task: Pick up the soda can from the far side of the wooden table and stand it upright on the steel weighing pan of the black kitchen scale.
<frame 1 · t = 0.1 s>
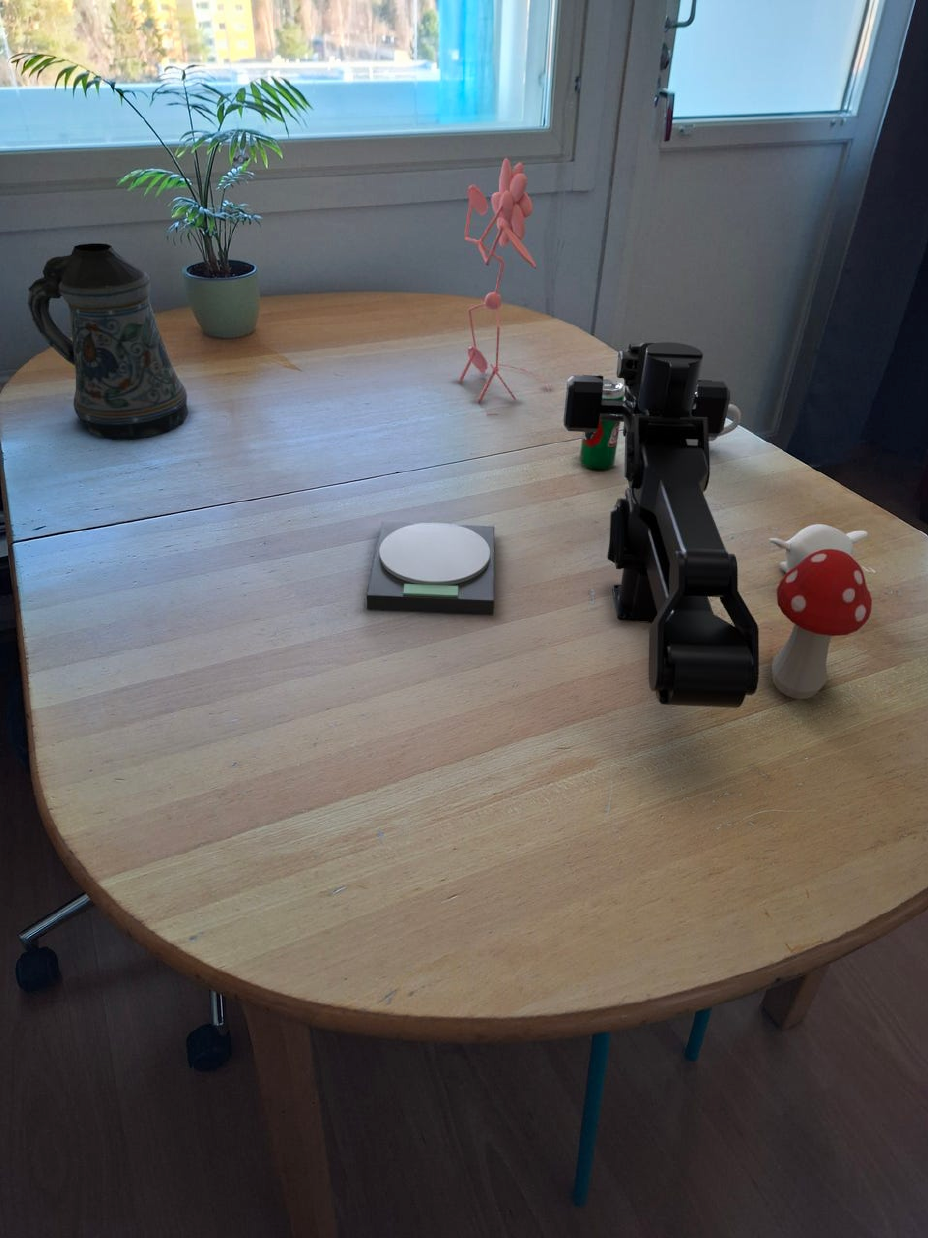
hand: (636, 380, 109), 17 cm above the table, tool horizontal, fingers open, 9 cm apart
beer stein: (125, 420, 135), on the table
teacup: (684, 449, 133), on the table
soda can: (596, 464, 128), on the table
figurine 2: (505, 389, 150), on the table
decorative mushroom: (795, 681, 89), on the table
kitchen scale: (434, 572, 103), on the table
figurine: (806, 590, 103), on the table
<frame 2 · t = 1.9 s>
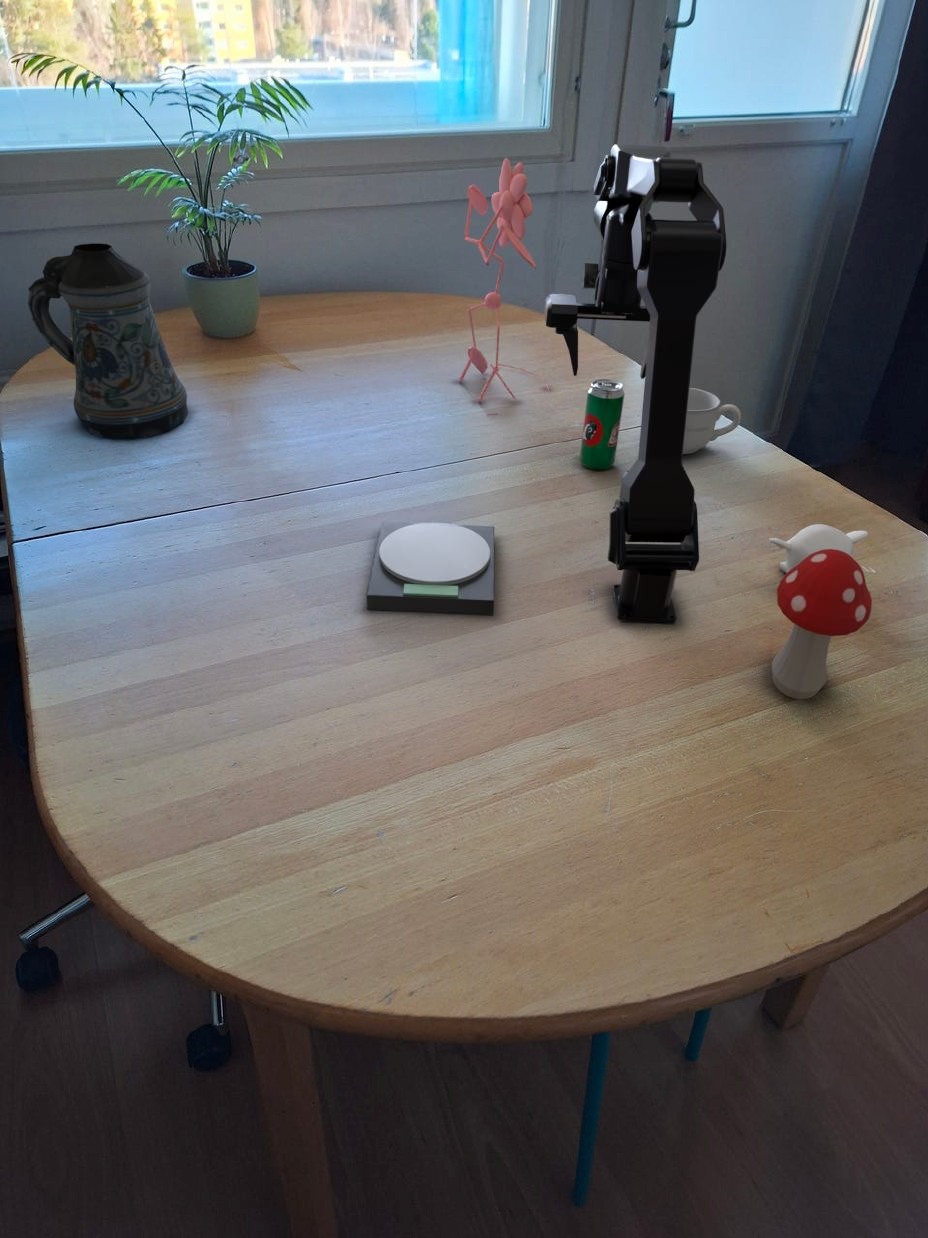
hand: (608, 376, 120), 13 cm above the table, tool pointing down, fingers open, 9 cm apart
nothing on the table moved.
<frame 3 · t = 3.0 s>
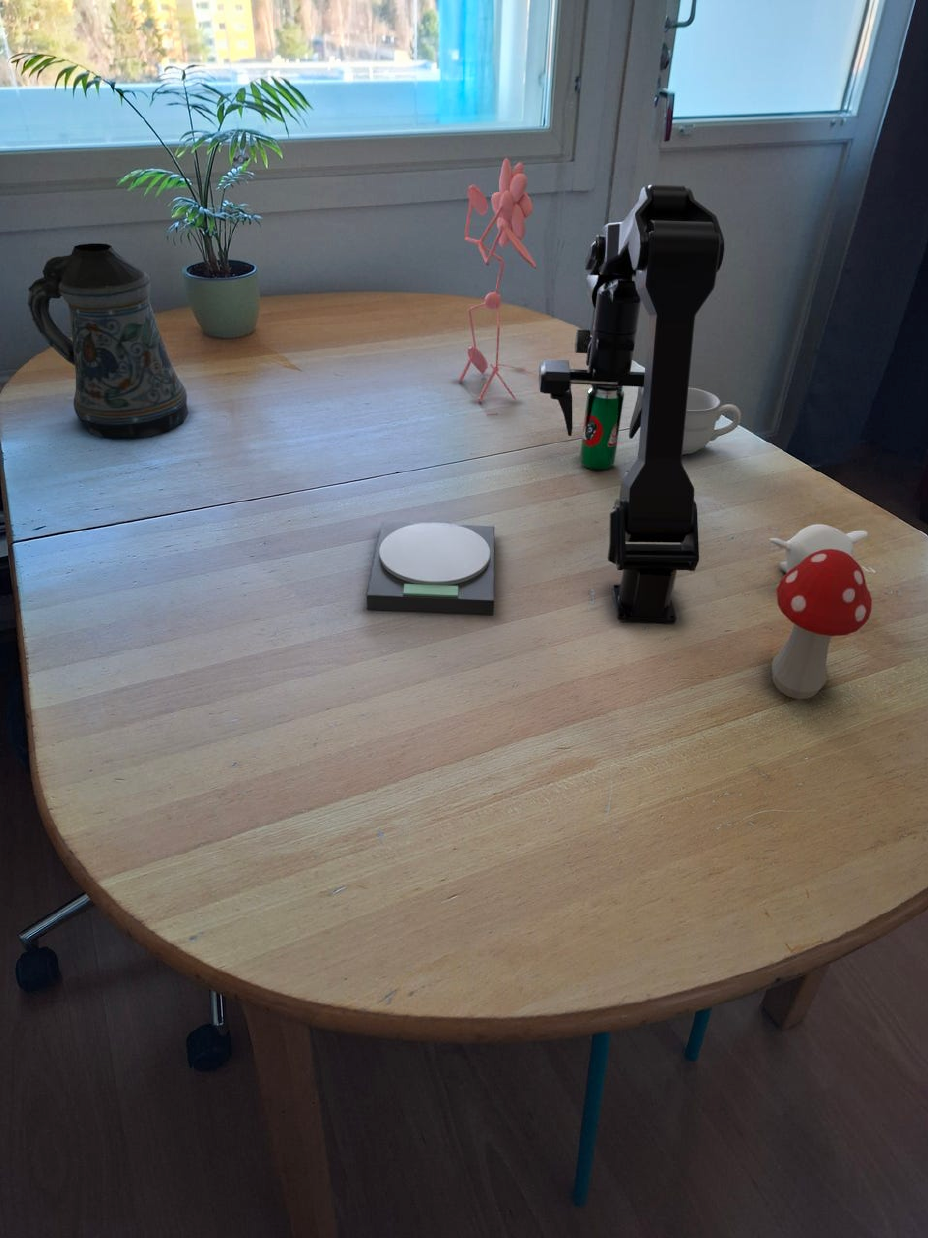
hand: (600, 436, 125), 4 cm above the table, tool pointing down
soda can: (596, 465, 128), on the table, touching gripper
everything else where it was.
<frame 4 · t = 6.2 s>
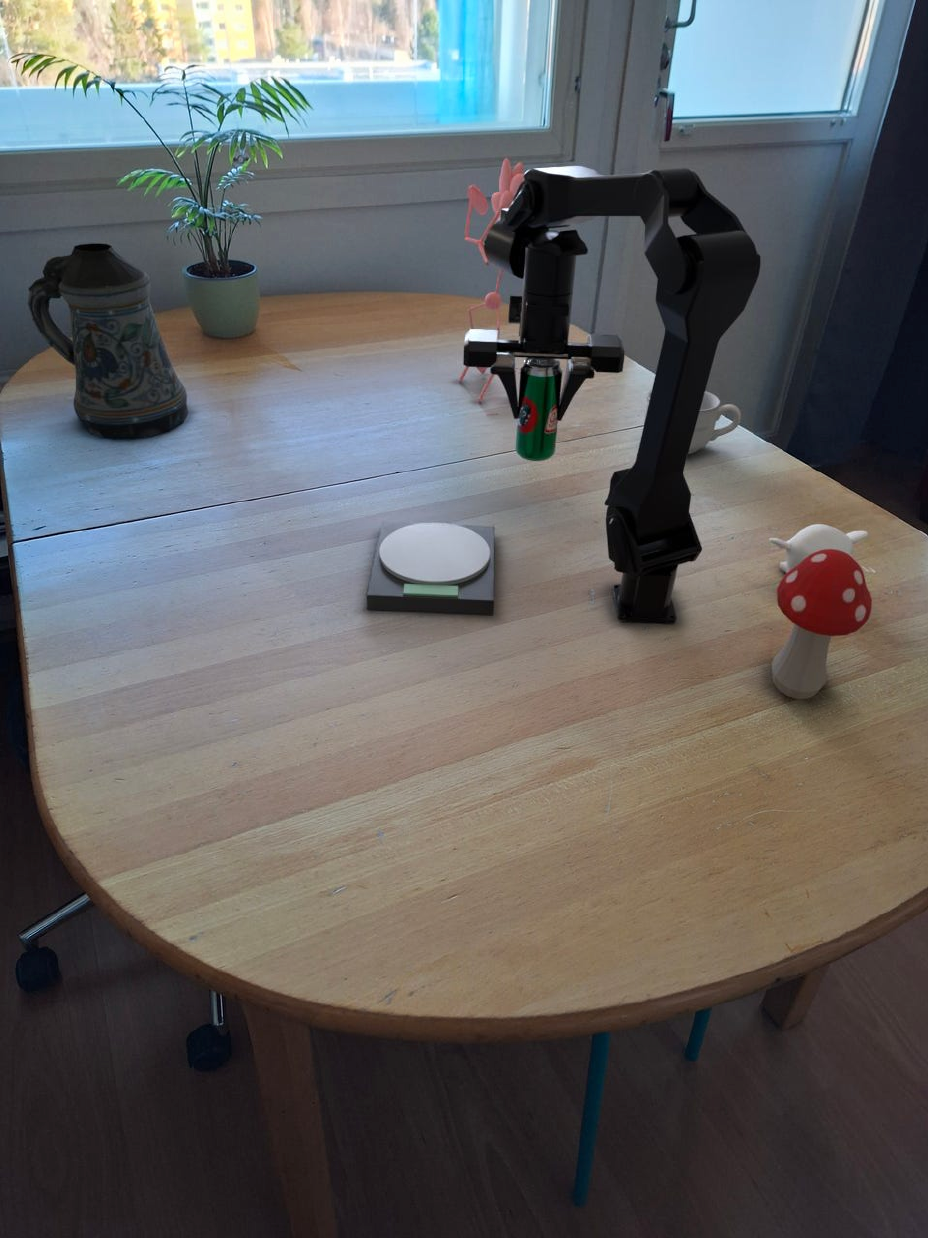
hand: (537, 418, 109), 13 cm above the table, tool pointing down, fingers closed on soda can, 5 cm apart
soda can: (534, 455, 111), point 8 cm above the table, touching gripper
everything else where it was.
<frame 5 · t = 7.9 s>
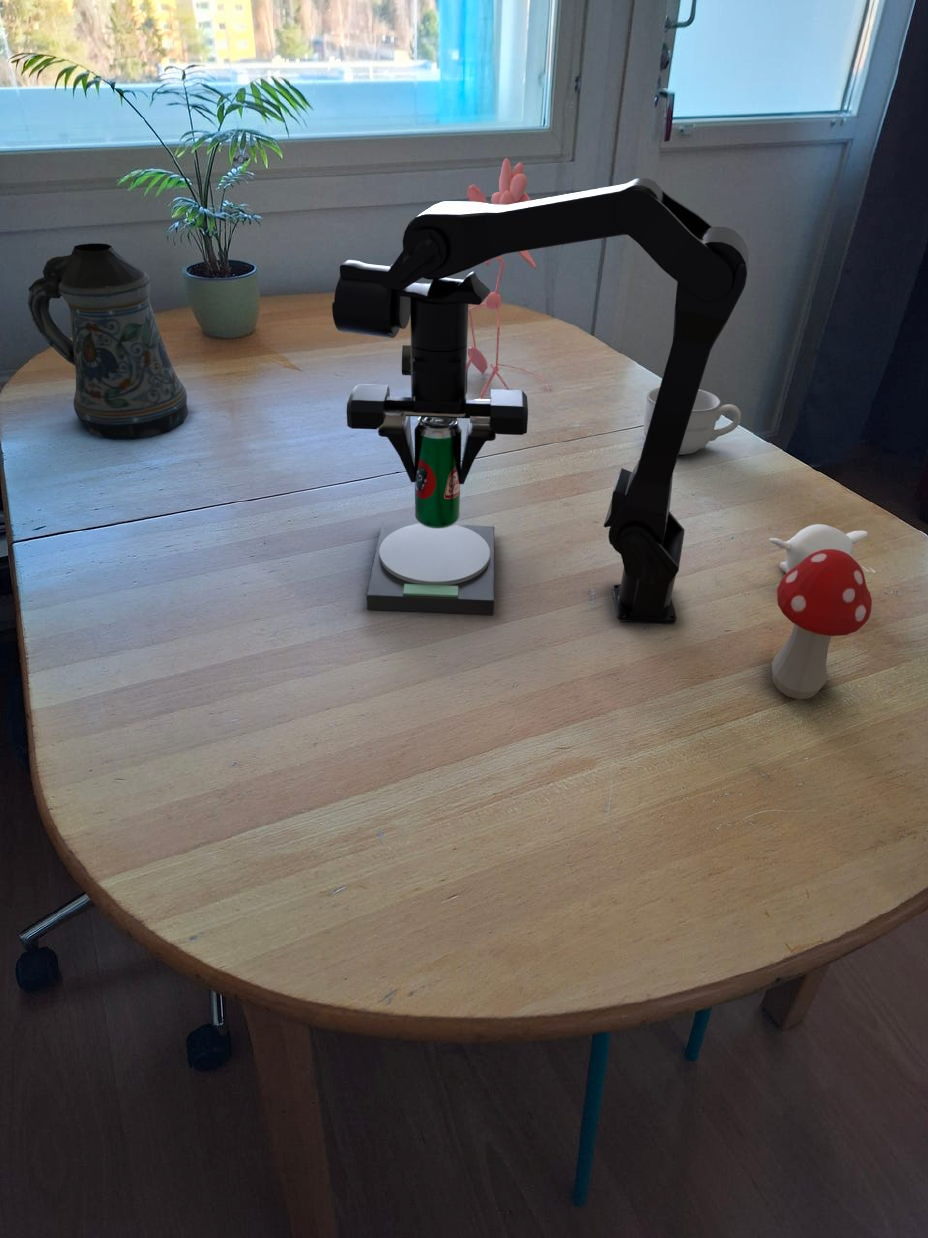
hand: (437, 481, 97), 12 cm above the table, tool pointing down, fingers closed on soda can, 5 cm apart
soda can: (437, 521, 100), point 7 cm above the table, touching gripper
everything else where it was.
when the fingers open (7 cm above the table, at t = 9.3 s): soda can stays where it is, resting on kitchen scale.
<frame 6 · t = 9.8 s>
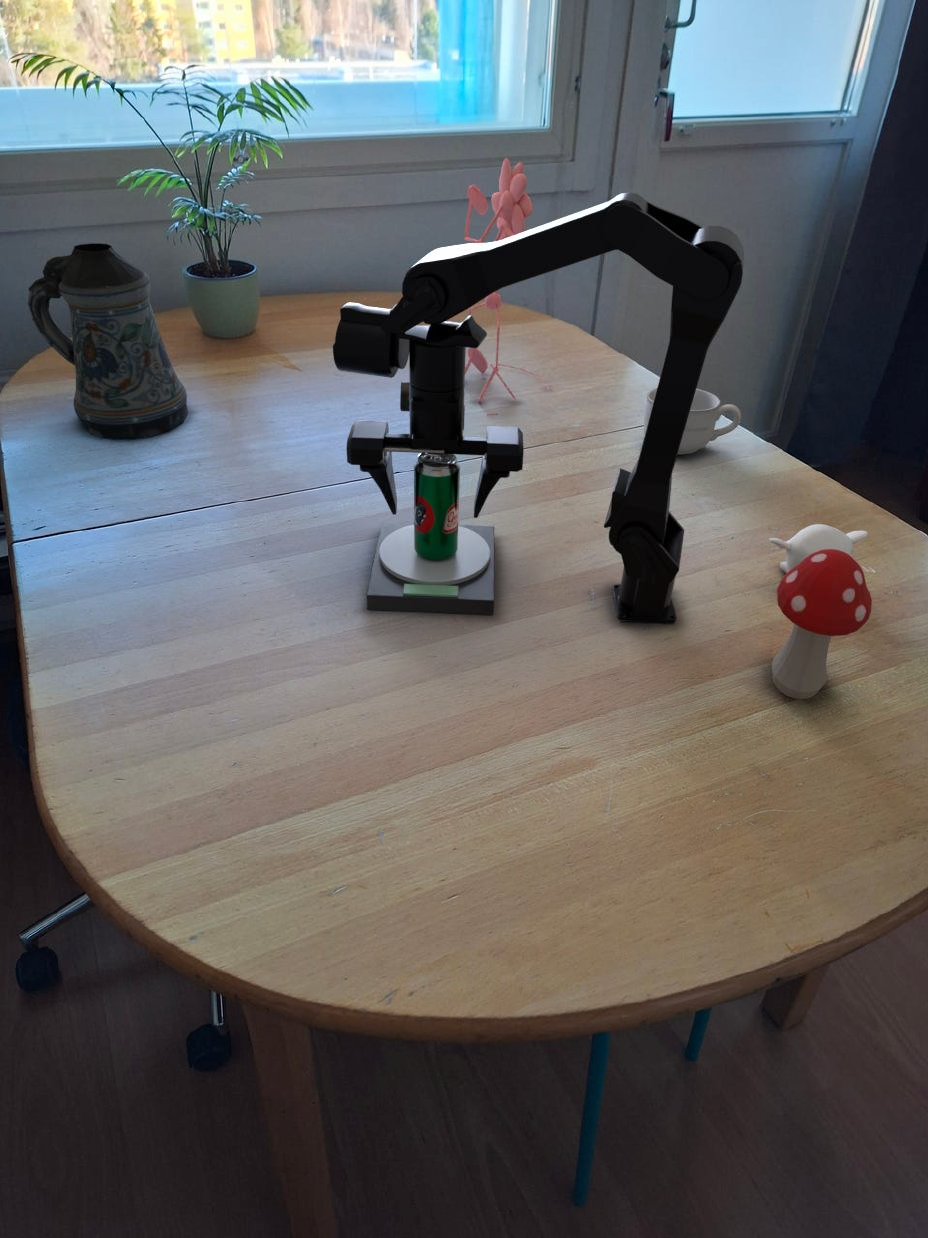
hand: (435, 514, 99), 7 cm above the table, tool pointing down, fingers open, 9 cm apart
soda can: (435, 553, 102), point 2 cm above the table, touching kitchen scale
everything else where it was.
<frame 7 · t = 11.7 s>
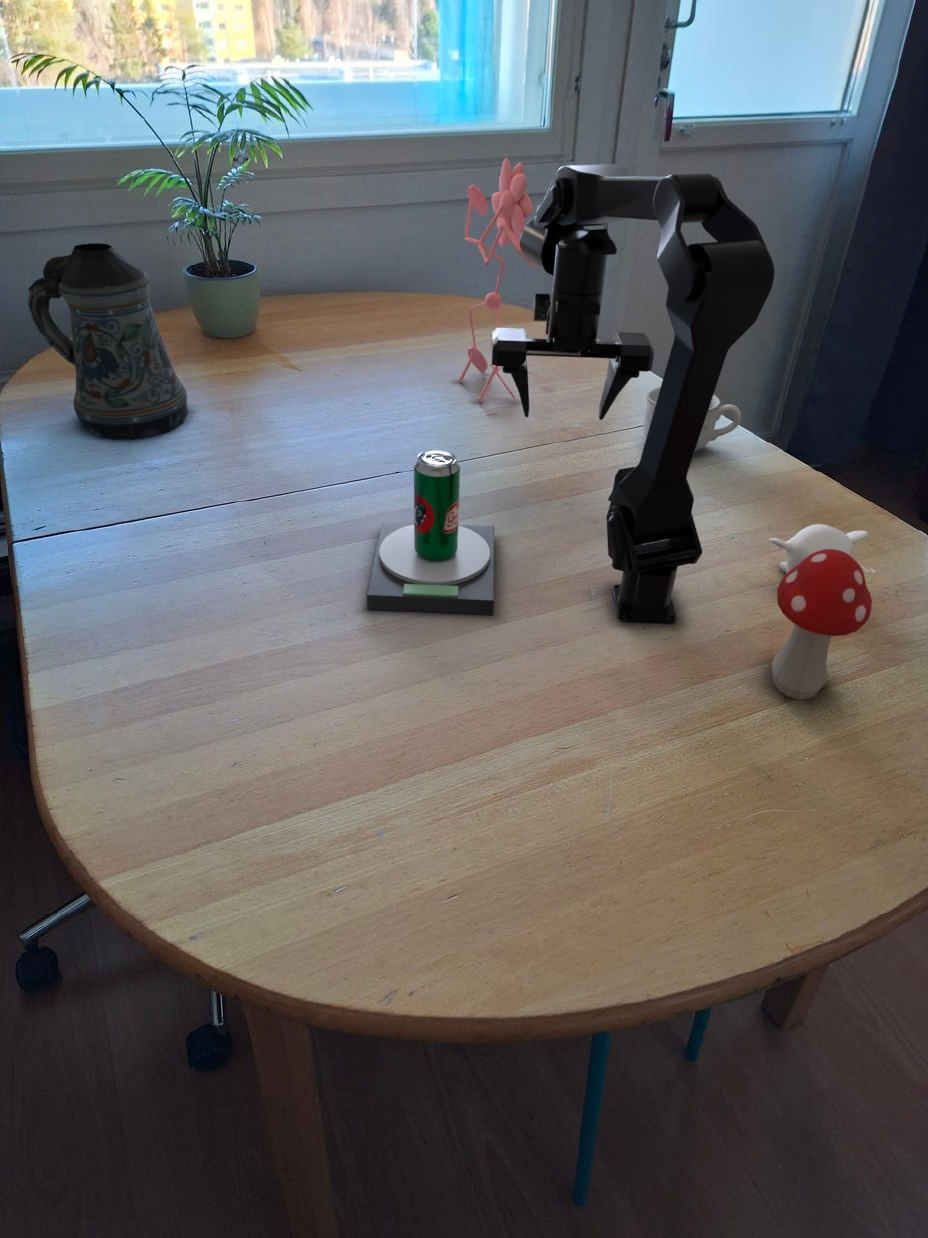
hand: (563, 417, 108), 13 cm above the table, tool pointing down, fingers open, 9 cm apart
nothing on the table moved.
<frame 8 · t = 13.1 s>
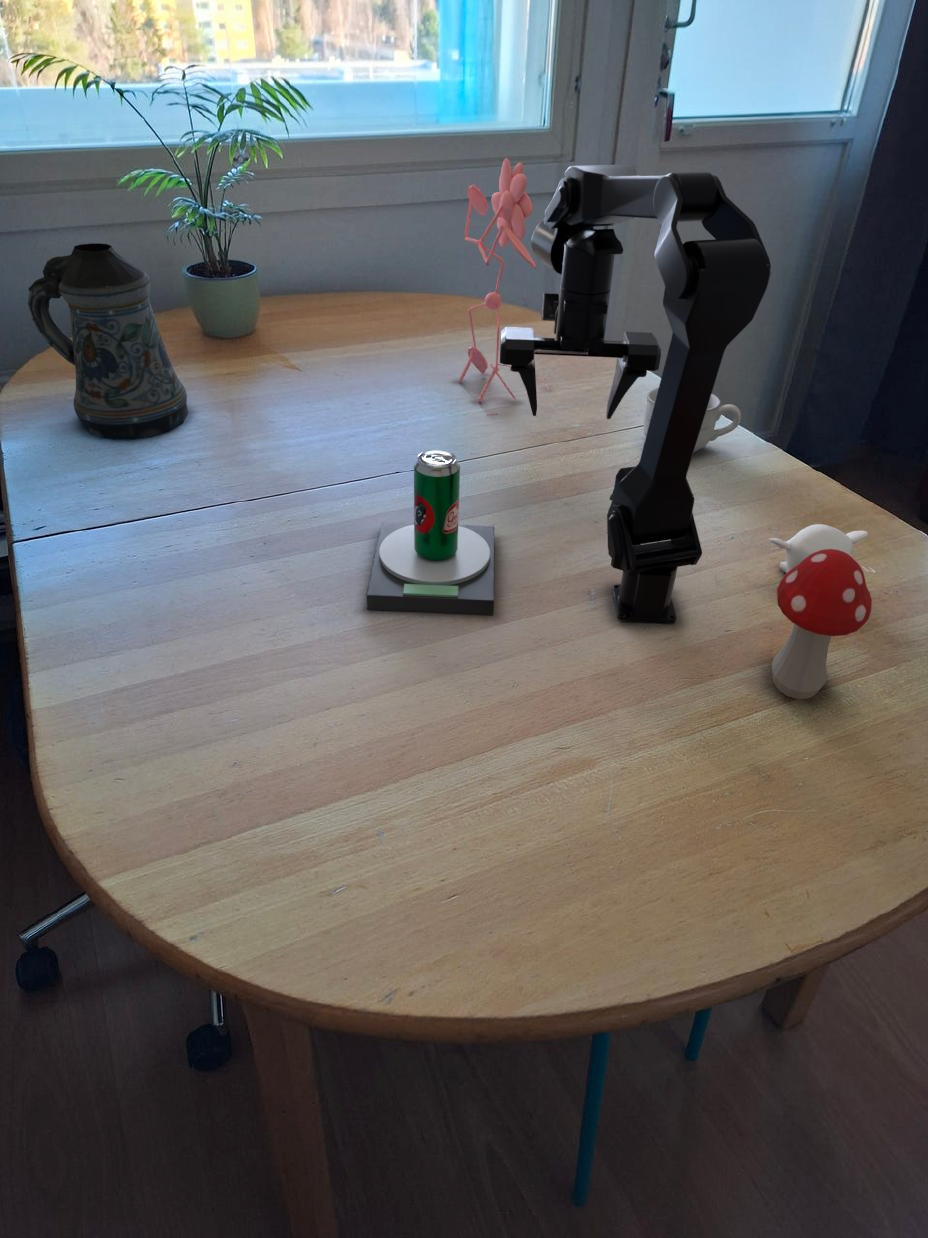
hand: (571, 416, 109), 13 cm above the table, tool pointing down, fingers open, 9 cm apart
nothing on the table moved.
at the end: soda can inside the target area on the kitchen scale (0.3 cm from its centre), point 2.4 cm above the kitchen scale's base; soda can tilted 0°; the gripper is holding nothing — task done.
